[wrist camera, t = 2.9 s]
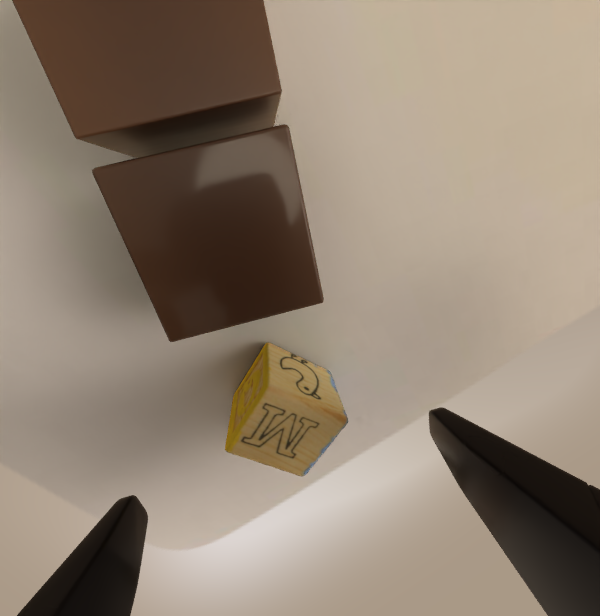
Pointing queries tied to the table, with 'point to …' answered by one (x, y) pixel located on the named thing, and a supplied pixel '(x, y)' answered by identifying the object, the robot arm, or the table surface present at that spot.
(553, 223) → the table surface
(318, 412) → the alphabet block
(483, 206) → the table surface
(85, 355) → the table surface
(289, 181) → the brown double block
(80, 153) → the table surface
